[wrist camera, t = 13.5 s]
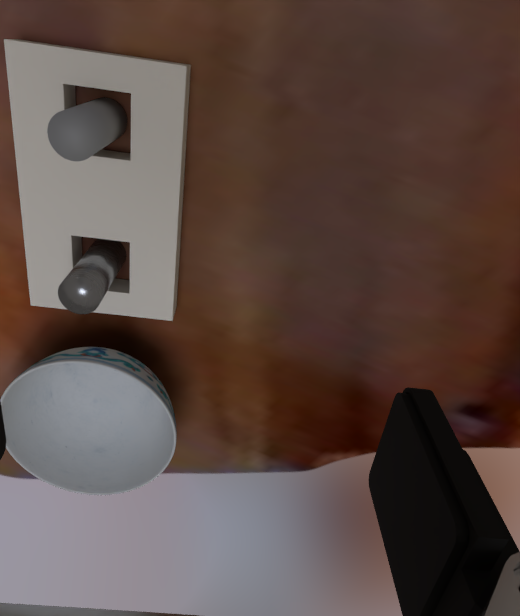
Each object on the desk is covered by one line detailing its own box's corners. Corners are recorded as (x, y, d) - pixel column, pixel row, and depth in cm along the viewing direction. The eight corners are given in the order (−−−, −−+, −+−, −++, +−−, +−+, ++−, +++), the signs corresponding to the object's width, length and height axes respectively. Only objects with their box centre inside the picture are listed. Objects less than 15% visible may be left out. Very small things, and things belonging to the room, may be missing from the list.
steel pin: (90, 234, 41) (56, 274, 34) (126, 239, 41) (99, 279, 34) (91, 267, 42) (59, 311, 35) (126, 271, 43) (100, 316, 36)
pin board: (19, 39, 34) (-41, 37, 27) (190, 64, 35) (175, 69, 28) (42, 292, 44) (1, 339, 36) (176, 307, 44) (161, 356, 37)
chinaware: (146, 292, 44) (126, 338, 37) (210, 414, 50) (203, 471, 44) (2, 341, 46) (-41, 392, 39) (82, 451, 53) (56, 511, 46)
